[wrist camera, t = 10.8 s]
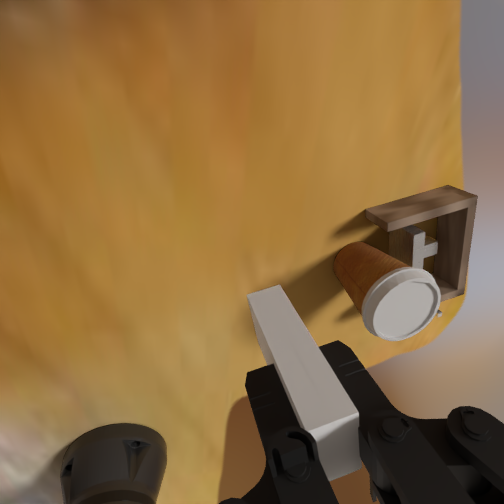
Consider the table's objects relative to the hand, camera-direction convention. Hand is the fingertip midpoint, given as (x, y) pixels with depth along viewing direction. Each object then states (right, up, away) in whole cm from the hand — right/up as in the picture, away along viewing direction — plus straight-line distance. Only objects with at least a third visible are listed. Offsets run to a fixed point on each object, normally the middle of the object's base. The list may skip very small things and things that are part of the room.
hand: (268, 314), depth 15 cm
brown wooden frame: (+22, +4, +35) cm, 42 cm away
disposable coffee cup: (+14, +1, +34) cm, 37 cm away
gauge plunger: (+22, +3, +35) cm, 42 cm away
